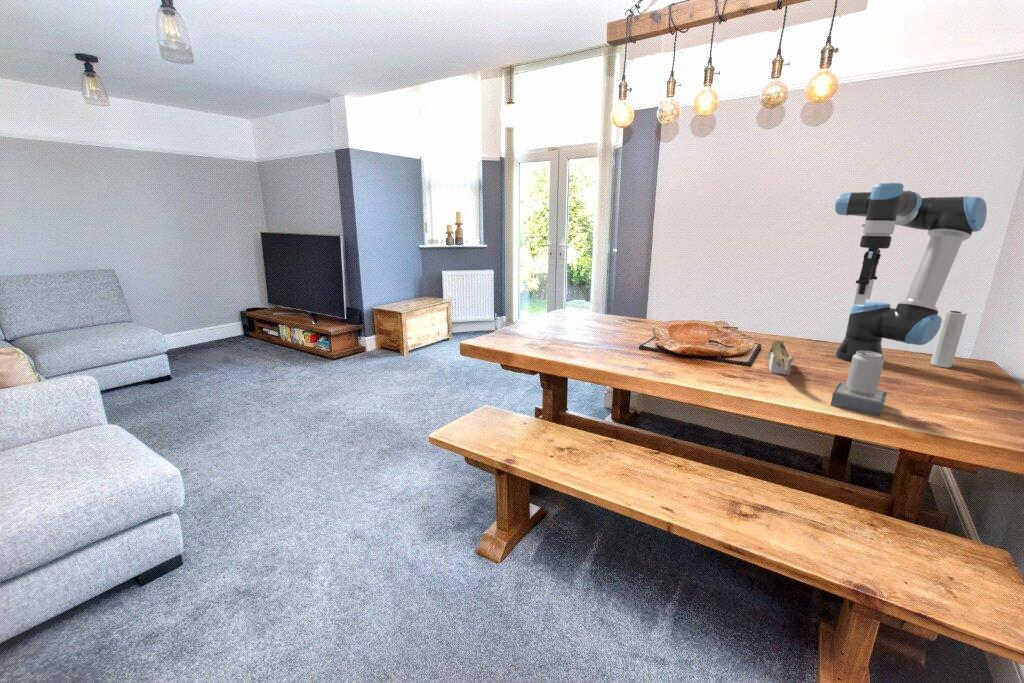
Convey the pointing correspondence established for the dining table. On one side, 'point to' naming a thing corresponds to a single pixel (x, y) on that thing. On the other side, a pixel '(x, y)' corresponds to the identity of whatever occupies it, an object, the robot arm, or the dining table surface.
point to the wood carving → (779, 358)
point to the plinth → (858, 400)
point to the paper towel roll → (948, 338)
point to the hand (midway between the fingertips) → (861, 301)
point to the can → (865, 372)
